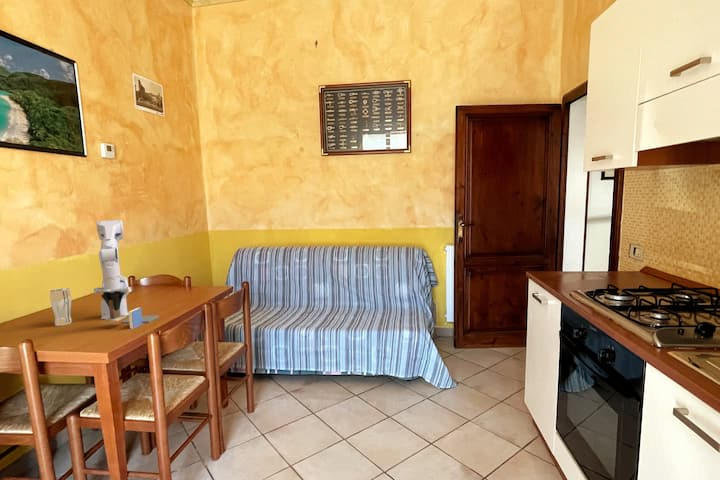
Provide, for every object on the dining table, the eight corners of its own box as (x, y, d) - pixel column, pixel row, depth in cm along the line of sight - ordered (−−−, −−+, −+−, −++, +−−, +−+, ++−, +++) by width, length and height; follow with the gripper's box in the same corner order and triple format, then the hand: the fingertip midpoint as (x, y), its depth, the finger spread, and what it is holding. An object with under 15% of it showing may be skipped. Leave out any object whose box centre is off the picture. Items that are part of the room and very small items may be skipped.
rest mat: (121, 323, 161) (121, 321, 161) (133, 317, 169) (132, 316, 169) (149, 322, 161) (148, 321, 161) (159, 316, 169) (159, 315, 169)
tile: (130, 328, 154) (128, 311, 153) (139, 323, 160) (137, 307, 159) (133, 328, 154) (132, 311, 153) (142, 323, 160) (140, 307, 159)
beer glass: (51, 327, 158) (47, 292, 157) (55, 322, 164) (51, 289, 163) (72, 324, 162) (67, 290, 160) (75, 320, 168) (71, 287, 166)
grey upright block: (104, 321, 154) (102, 300, 153) (114, 317, 160) (112, 297, 159) (116, 321, 154) (114, 300, 153) (126, 316, 160) (124, 296, 159)
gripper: (86, 279, 151) (90, 312, 153) (122, 279, 151) (125, 312, 152) (99, 276, 158) (102, 307, 160) (133, 275, 158) (136, 307, 159)
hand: (114, 309), depth 157 cm, fingers closed on grey upright block
